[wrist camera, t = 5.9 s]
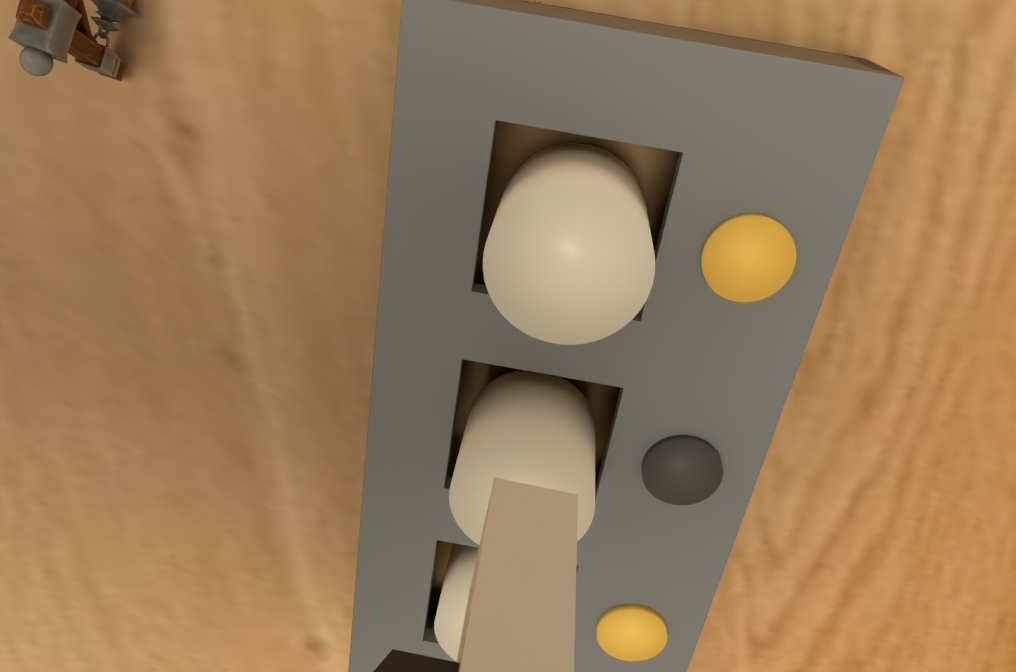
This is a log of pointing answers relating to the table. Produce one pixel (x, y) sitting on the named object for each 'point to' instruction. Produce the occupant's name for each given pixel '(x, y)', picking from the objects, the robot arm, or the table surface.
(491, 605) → the robot arm
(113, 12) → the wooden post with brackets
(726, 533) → the console
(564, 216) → the button
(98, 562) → the table surface
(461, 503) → the button
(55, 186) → the table surface
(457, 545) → the button
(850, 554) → the table surface
